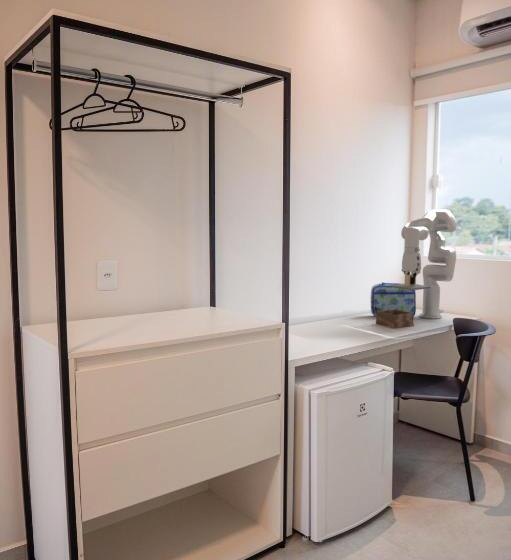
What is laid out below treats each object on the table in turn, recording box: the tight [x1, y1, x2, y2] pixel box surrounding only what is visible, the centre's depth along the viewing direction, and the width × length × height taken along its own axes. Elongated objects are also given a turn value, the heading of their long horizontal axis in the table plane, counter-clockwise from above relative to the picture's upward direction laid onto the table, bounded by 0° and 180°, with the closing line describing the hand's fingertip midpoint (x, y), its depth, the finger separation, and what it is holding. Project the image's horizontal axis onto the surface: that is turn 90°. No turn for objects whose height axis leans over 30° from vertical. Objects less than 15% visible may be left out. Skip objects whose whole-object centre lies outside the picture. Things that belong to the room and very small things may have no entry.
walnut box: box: [375, 309, 415, 329], centre depth 287 cm, size 14×14×8 cm
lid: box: [390, 274, 431, 291], centre depth 285 cm, size 15×15×7 cm
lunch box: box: [370, 281, 417, 318], centre depth 313 cm, size 26×11×21 cm, turn 84°
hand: (410, 283), depth 286 cm, fingers closed on lid, 2 cm apart
